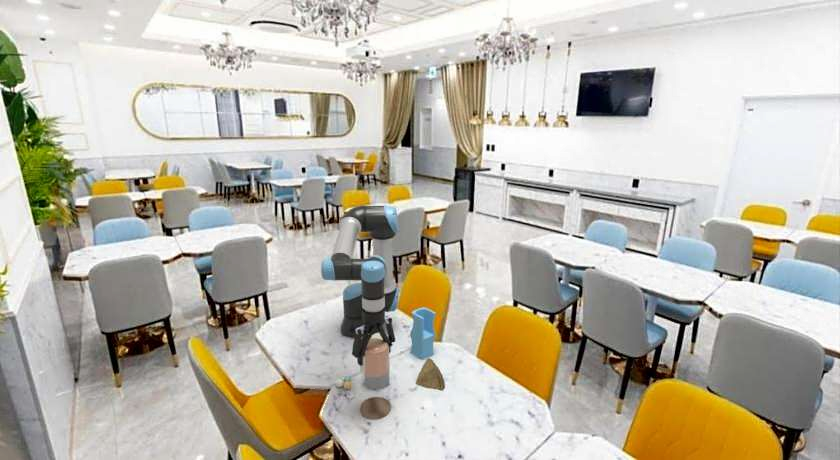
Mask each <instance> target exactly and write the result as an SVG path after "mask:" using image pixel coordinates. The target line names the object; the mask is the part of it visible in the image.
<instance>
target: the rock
mask: <svg viewBox="0 0 840 460" xmlns="http://www.w3.org/2000/svg"><path fill="white" fill-rule="evenodd" d="M415 385H419V386H421V387H425V388H428V389H429V388H430V389H438V390H444V388H445V387H446V383H445V379H444V376H443V374H442V372H441V370H440V368H439V366H437V365H436V363H435V362H434V360H433V359H432V358H431V357H428V358H426V359H425V361H424V364H423V365H422V367H421V369H420V371H419V373H418V376H417V378H416V381H415Z"/></svg>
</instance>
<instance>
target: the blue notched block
mask: <svg viewBox="0 0 840 460" xmlns="http://www.w3.org/2000/svg"><path fill="white" fill-rule="evenodd" d="M411 313H412V314H411V315H412V321H413V322H412V327H411V330H410V332H409V335H410V340H411V349H410V351H409V353H410V354H412V356H414V357H416V358H418V359H419V360H421V361H422V360H423V361H424V360H427V359H428V358H431V357H432V356H433V355H434V354H435V353H434V341H435V339H436V334H437V333H436V332H435V328H434V320H435V317H436V312H435V311H433V310H431V309H430V308H427V307H426V306H425V307H419V308H417V309H414V310H413V311H412V312H411Z"/></svg>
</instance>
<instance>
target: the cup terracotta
mask: <svg viewBox="0 0 840 460" xmlns="http://www.w3.org/2000/svg"><path fill="white" fill-rule="evenodd" d="M364 356H365V362H366V374H363V375H364V377H365V376H366V377H380V376H382V375H384V374H386V373H387V370H388V344H387V342H386V341H384V340H382V339H378V338H372V339H370V340H369V342H368V345H367V348H366V350H365V353H364Z"/></svg>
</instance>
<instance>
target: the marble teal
mask: <svg viewBox="0 0 840 460" xmlns="http://www.w3.org/2000/svg"><path fill="white" fill-rule="evenodd" d="M346 381H350V382H351V383H352V376H350V375H349V374H348V375H345V376H344V377H343V382H344V383H345V382H346Z"/></svg>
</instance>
